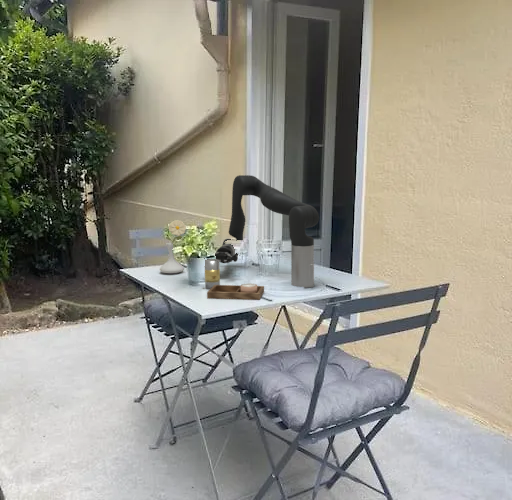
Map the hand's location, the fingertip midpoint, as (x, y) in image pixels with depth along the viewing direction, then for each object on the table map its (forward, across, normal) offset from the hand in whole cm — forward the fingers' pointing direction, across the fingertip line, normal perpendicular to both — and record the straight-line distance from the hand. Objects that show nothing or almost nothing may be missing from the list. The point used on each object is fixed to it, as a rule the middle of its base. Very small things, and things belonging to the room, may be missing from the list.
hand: (217, 260), depth 232 cm
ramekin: (+22, +17, +9) cm, 30 cm away
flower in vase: (-18, -26, +11) cm, 33 cm away
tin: (+12, 0, +10) cm, 15 cm away
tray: (+22, +12, +9) cm, 27 cm away
